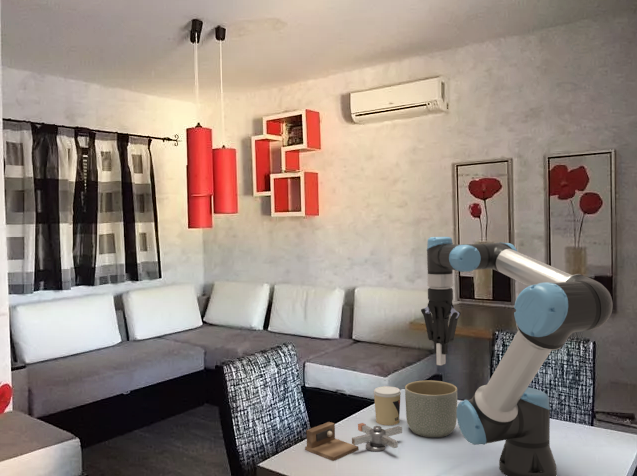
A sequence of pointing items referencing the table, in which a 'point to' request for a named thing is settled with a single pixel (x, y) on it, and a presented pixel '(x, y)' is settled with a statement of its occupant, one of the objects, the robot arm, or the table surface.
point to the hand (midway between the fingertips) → (441, 364)
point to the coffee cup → (387, 405)
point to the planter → (431, 408)
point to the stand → (327, 442)
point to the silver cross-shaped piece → (376, 437)
